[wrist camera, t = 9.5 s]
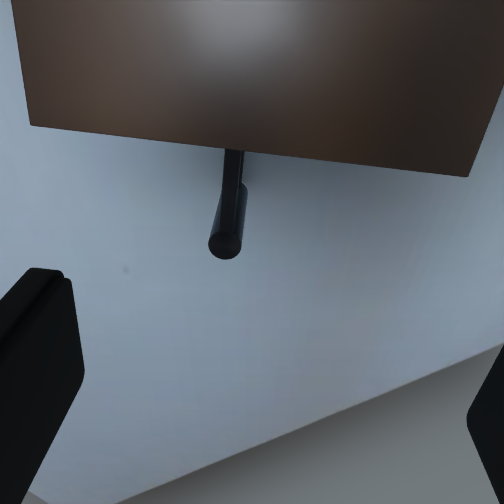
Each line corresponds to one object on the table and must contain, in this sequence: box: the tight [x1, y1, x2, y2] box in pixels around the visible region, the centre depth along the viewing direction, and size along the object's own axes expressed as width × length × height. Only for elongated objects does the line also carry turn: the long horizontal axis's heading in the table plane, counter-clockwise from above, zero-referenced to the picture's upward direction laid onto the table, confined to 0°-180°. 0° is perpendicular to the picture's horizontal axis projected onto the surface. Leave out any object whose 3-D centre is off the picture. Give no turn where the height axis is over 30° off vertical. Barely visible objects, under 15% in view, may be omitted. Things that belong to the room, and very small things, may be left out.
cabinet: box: [11, 0, 504, 177], centre depth 18 cm, size 16×9×12 cm, turn 84°
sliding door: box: [208, 149, 248, 260], centre depth 22 cm, size 7×7×9 cm
